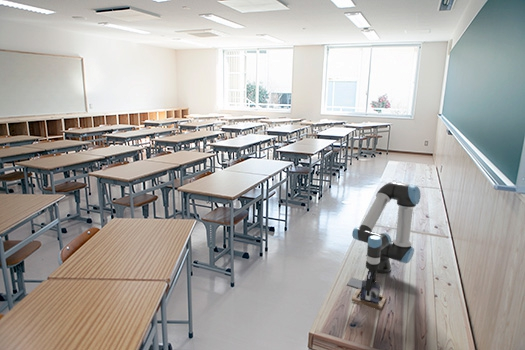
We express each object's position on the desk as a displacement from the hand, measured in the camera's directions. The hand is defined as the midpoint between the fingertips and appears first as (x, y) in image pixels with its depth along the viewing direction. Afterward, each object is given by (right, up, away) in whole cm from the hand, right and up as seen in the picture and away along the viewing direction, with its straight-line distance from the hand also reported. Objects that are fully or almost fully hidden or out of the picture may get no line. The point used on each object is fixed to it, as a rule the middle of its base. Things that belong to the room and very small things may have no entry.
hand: (369, 296), depth 203 cm
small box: (0, -2, +1) cm, 2 cm away
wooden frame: (0, -3, 0) cm, 3 cm away
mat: (-3, +2, +18) cm, 18 cm away
